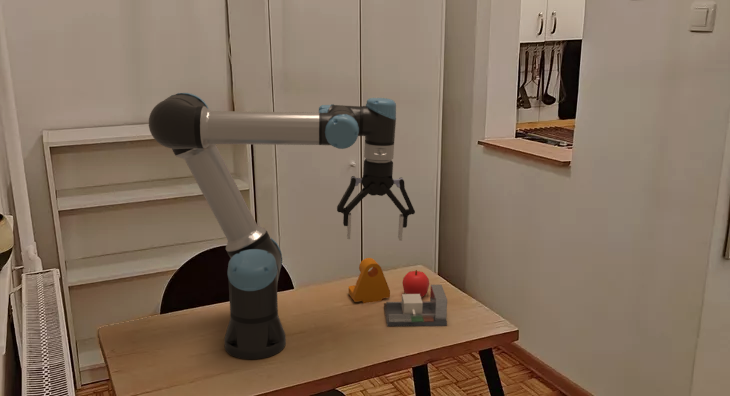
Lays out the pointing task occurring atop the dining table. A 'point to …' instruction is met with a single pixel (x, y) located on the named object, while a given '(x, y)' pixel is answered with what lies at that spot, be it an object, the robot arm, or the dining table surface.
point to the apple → (415, 283)
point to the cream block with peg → (412, 304)
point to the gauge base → (431, 311)
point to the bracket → (369, 283)
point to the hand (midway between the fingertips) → (374, 238)
